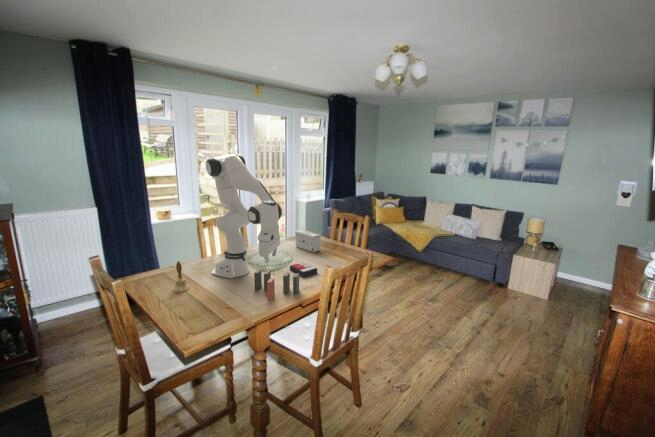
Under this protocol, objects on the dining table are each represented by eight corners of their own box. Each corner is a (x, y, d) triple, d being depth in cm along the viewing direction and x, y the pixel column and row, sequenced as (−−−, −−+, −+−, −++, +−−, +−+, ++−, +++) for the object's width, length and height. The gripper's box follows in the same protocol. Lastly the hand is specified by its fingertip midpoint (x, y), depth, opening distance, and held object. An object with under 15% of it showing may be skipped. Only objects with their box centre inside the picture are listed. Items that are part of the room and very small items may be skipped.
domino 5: (293, 294, 166) (293, 276, 163) (295, 289, 171) (295, 273, 168) (296, 294, 165) (296, 277, 163) (299, 290, 170) (299, 273, 168)
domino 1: (254, 289, 170) (254, 272, 167) (258, 285, 174) (257, 269, 172) (258, 290, 169) (257, 273, 167) (261, 286, 174) (261, 269, 172)
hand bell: (181, 293, 163) (178, 265, 159) (169, 290, 166) (166, 263, 162) (193, 287, 171) (190, 260, 167) (181, 284, 174) (178, 257, 170)
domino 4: (283, 292, 167) (283, 275, 164) (286, 288, 172) (286, 272, 169) (286, 293, 166) (286, 276, 164) (289, 289, 171) (289, 272, 169)
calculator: (303, 261, 204) (317, 267, 193) (303, 267, 205) (317, 273, 193) (289, 264, 197) (303, 271, 186) (289, 271, 198) (303, 278, 187)
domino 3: (267, 299, 159) (267, 281, 157) (271, 295, 164) (270, 277, 162) (271, 300, 159) (270, 282, 156) (274, 295, 164) (274, 278, 161)
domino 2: (264, 290, 169) (263, 273, 166) (267, 286, 173) (267, 270, 171) (267, 291, 168) (267, 274, 166) (270, 287, 173) (270, 270, 171)
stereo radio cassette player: (320, 250, 234) (321, 225, 230) (313, 253, 228) (313, 227, 224) (301, 244, 248) (301, 220, 243) (294, 247, 242) (294, 222, 237)
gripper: (271, 227, 164) (272, 251, 167) (255, 238, 144) (256, 265, 147) (282, 228, 163) (283, 252, 166) (268, 239, 143) (269, 267, 146)
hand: (270, 259), depth 156 cm, fingers open, 8 cm apart
